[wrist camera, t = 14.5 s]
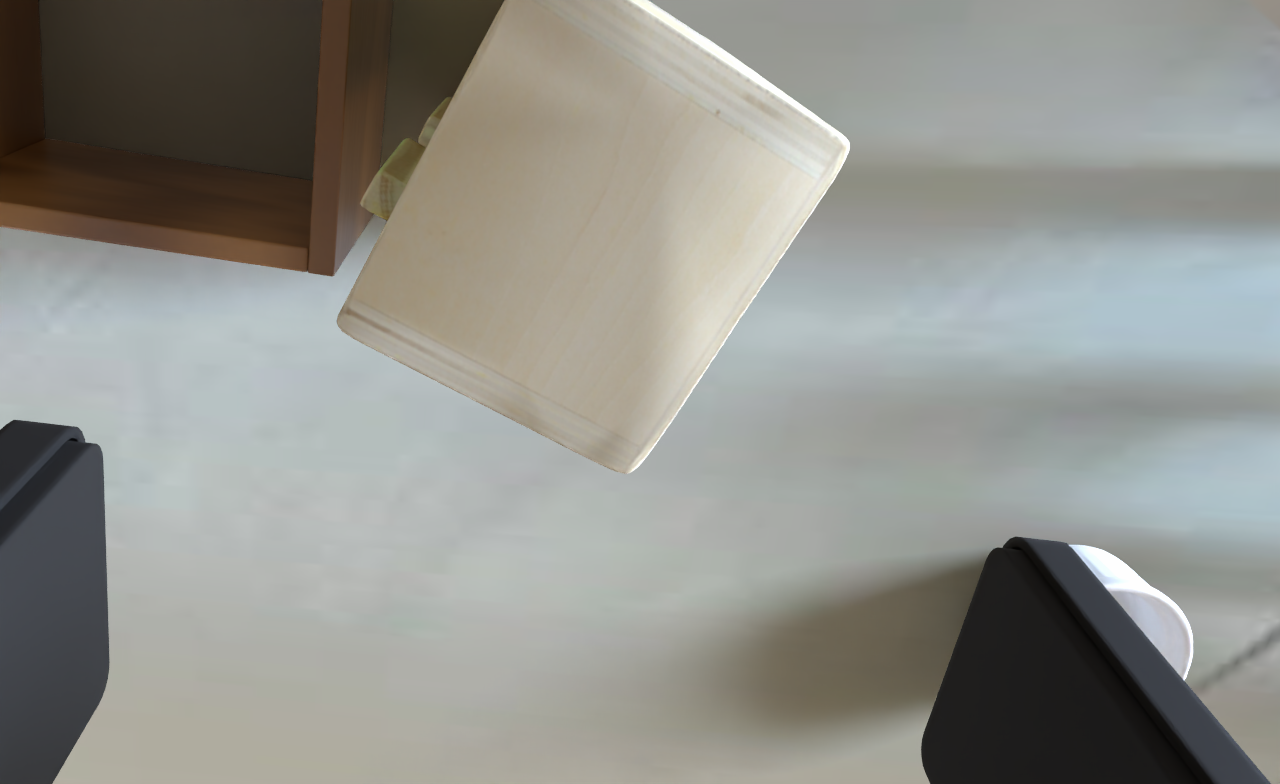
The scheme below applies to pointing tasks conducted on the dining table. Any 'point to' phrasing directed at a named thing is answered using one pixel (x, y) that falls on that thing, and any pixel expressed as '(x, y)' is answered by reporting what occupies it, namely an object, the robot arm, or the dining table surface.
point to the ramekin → (1144, 607)
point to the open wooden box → (197, 192)
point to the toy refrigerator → (587, 221)
